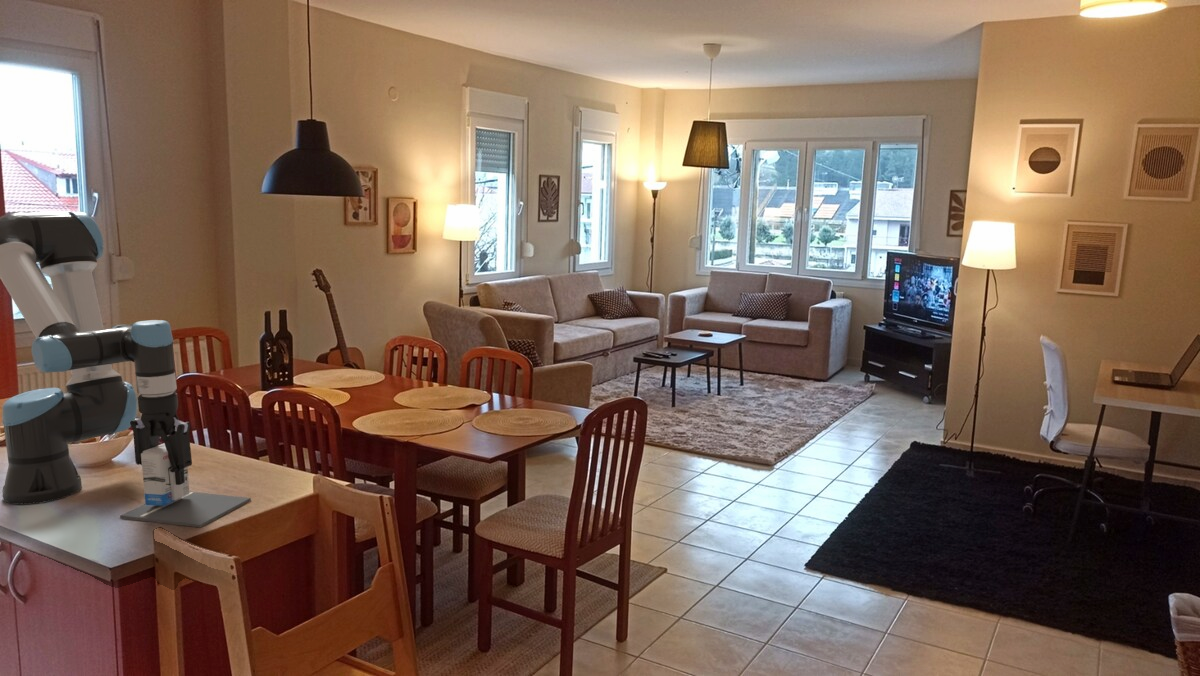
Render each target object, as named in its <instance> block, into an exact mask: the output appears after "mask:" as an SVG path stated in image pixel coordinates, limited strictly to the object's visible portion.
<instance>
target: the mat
mask: <svg viewBox="0 0 1200 676" xmlns="http://www.w3.org/2000/svg"><path fill="white" fill-rule="evenodd" d="M251 500H252V499H251V497H245V496H244V497H243V496H237V495H236V496H234V495H225V494H216V493H209V492H208V493H205V492H198V491H189V494H188V495H186V496H184V497H182V498H180V499H178V500H176V501H174V502H172V503H170V504H168V505H166V506H156V505H146V504H145V503H143V504H141V505H140V506H138V507H136V508H133V509H131V510H129V511H126V512H125V513H121V514H120V515H119V519H124V520H134V521H141V522H142V521H143V522H149V523H160V524H167V525H175V526H183V527H192V528H202V527H204V526H206V525H207V524H210V523H211V522H213V521H215V520H217V519H219V518H221V517H222V516H224V515H227V514H228V513H230V512H232V511H234V510H236V509H237V508H240V507H242V506H244V505H245V504H247V503H248V502H251Z"/></svg>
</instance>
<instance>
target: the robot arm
mask: <svg viewBox="0 0 1200 676" xmlns="http://www.w3.org/2000/svg"><path fill="white" fill-rule="evenodd" d="M104 245H105V244H104V238H103V235H102V232H101V230H100V227H99V225H98V224H97V222H96V220H95V219H94V218H93V217H91V215H90V214H88V213H86V212H84V211H69V210H63V211H61V210H59V211H58V210H57V211H56V210H55V211H31V212H29V211H27V212H25V211H15V212H11V213H7V214H4V215H2V216H0V280H1V282H2V284H3V286H4V287H5V289H6V291H7V293H8V294H9V295H10V297H11V299H12V300H13V302H14V304H15V306H16V307H17V308H18V310H19V313H20V314H21V315H22V317H23V318H24V320H25V322H26V324H27V325H28V327H29V329H30V330H31V332H32V334H33V335H34V336H35V338H34V340H32V343H31V356H32V359H33V362H34V366H35V367H36V368H37V370H39V371H40V372H42V373H44V374H47V373H48V374H49V373H58V372H60V373H62V372H63V373H64V372H67V371H70V376H71V377H70V379H69V380H68V381H67V382H66V383H65V387H66V392H63V391H62V389H61V388H58V387H45V388H37V389H33V390H29V391H25V392H22V393H19V394H16V395H14V396H12V397H10V398H9V399H7V400H5V401H4V403H3V404H2V409H1V410H2V420H1V423H2V425H3V430H4V438H5V445H6V446H5V448H6V454H7V461H8V464H7V465H8V467H7V472H6V476H5V480H4V485H3V487H2V490H1V491H2V500H3V501H4V502H5V503H8V504H13V505H31V504H40V503H47V502H52V501H57V500H60V499H62V498H67V497H70V496H71V495H74V494H77V492H79V491H80V490H81V489H82V488H83V485H82V478H81V477H82V476H81V475H80V474H79V472H78V470H77V468H76V465H75V464H74V462H73V460H72V458H71V456H70V450H69V444H70V443H73V442H80V441H84V440H90V439H94V438H99V437H103V436H112V435H114V434H116V433H121V432H124V431H126V430H129V429H130V428H131V430H132V435H133V448H134V449H133V450H134V460H135V465H141V466H142V461H141V453H143V451H145V450H147V449H150V448H153V447H156V446H158V443H159V437H161V440H162V441H163V442H164V443H165V447H166V450H167V452H168V456H169V459H170V462H171V466H172V470H170V471H169V472H170V483H171V494H172V500H177V499H179V498H181V497H183V496H184V491H183V483H184V482H185V477H184V468H186V467H190V466H192V464H193V461H192V450H191V440H190V428H191V423H190V421H186V422H184V421H182V420H179V416H178V415H177V411H178V408H179V398H178V393H177V392H176V390H177V388H178V387H177V377H176V369H175V368H176V367H175V355H174V337H173V334H172V328H171V324H170V322H169V321H167V320H164V319H163V320H162V319H160V320H158V319H150V320H140V321H136V322H133V324H116V325H114V326H113V327H110V328H104V327H105V326H104V322H103V318H102V314H101V309H100V303H99V300H98V295H97V290H96V286H95V280H94V275H93V271H94V270H95V269H96V267H97V266H98V260H99V259H101V257H102V256H103V254H104V250H105V249H104V247H103V246H104ZM38 263H39V266H38ZM46 276H48V277H49V279H50V282H51V284H50V283H49V281H48V279H47V278H46ZM126 362H133V363H134V372H135V373H134V374H135V382H136V383H135V384H136V390H135V389H134V387H133V385H132V384H131V383H129V382H127V381H123V378H122V374H120V373H119V372H118V371H116V370H115V369H113V365H112V364H118V363H119V364H120V363H126ZM136 391H137V393H138V396H137V394H136ZM138 411H139V413H141V417H139V418H137V414H138ZM170 434H171V435H170ZM168 435H170V436H168Z"/></svg>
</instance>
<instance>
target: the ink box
mask: <svg viewBox="0 0 1200 676" xmlns="http://www.w3.org/2000/svg"><path fill="white" fill-rule="evenodd" d="M141 461H142V465H141V470H142V481H143V482H142V483H143V492H144V499H145V501H144V502H145V503H144V504H146V505H156V506H166V505H168V504H170V503H172V502H174V501H176V500H172V494H171V483H170V472H169V471H170V470H172V466H171V462H170V459H169V456H168V452H167V450H166V447H165V443H163V444H161V445H158V446H156V447H153V448H150V449H147V450H145V451H143V453H141ZM188 467H189V466H188ZM188 467H186V468H184V477H185V482H184V483H183V491H184V496H186V495H188V494H189V492H190V482H189V480H190V479H189V471H188ZM184 496H183V497H184ZM181 498H182V497H181ZM179 499H180V498H179ZM177 500H178V499H177Z"/></svg>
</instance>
